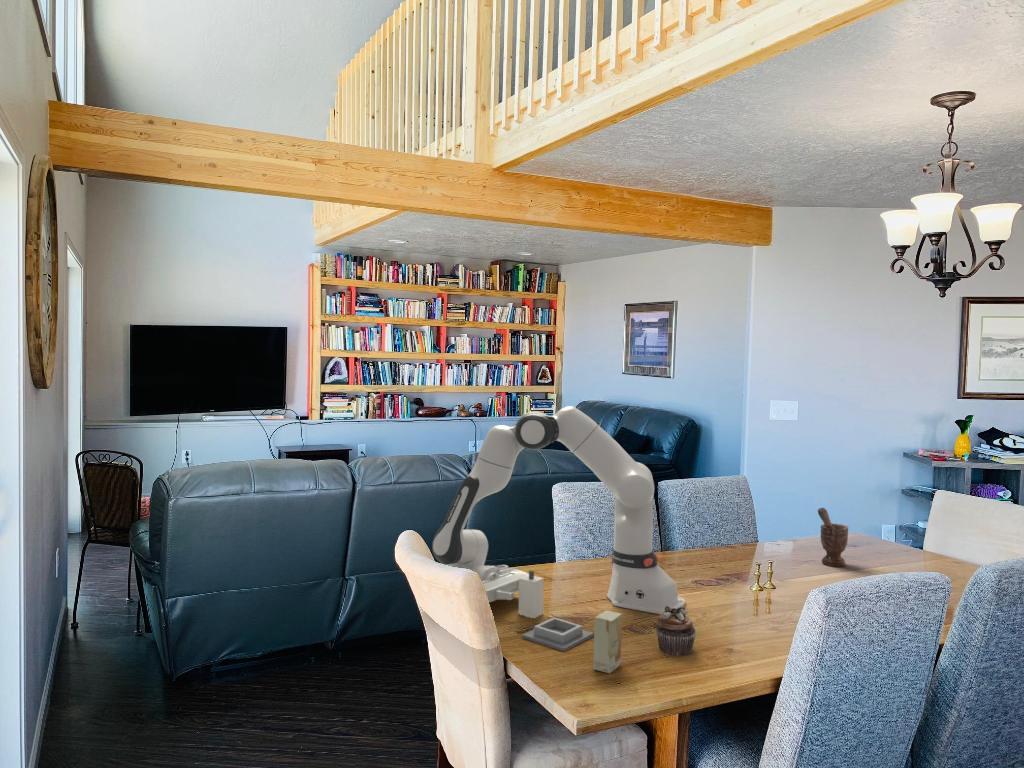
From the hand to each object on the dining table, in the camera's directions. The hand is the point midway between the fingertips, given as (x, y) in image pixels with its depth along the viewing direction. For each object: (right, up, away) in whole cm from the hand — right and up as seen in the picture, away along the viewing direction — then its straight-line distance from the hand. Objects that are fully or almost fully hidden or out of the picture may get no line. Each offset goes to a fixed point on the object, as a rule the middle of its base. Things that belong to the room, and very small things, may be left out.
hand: (523, 592), depth 211 cm
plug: (+2, -6, -2) cm, 6 cm away
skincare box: (+19, -8, -35) cm, 40 cm away
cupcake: (+37, -8, -24) cm, 44 cm away
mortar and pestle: (+105, -4, +48) cm, 116 cm away
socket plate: (+9, -7, -17) cm, 20 cm away
